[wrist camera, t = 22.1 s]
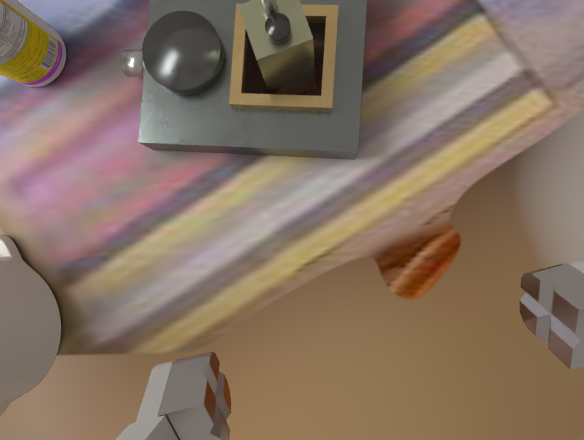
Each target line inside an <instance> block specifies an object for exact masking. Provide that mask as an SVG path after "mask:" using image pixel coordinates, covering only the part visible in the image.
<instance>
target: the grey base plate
mask: <svg viewBox="0 0 584 440" xmlns="http://www.w3.org/2000/svg"><path fill="white" fill-rule="evenodd" d="M248 1H251V0H150V2H149V14H148V27H147V34H146V36H145V39H144V42H143V48H142V50H124V51H123V52H122V55H121V65H122V69H123V71H124V73H125V74H126V75H127V76H128V77H143V90H142V103H141V115H140V128H139V140H138V142H139V143H141V144H143V145H145V146H147V147H149V148H151V149H153V150H167V151H189V152H210V153H231V154H252V155H273V156H295V157H316V158H337V159H355V158H356V156H357V154H358V147H359V130H360V113H361V96H362V79H363V62H364V45H365V28H366V11H367V0H300V3H301V5H302V8H303V11H304V14H305V17H306V19H307V22H308V25H309V28H310V31H311V33H312V36H313V40H325V43H324V59H323V75H322V91H321V96H309V95H279V94H251V86H252V72H253V57H254V51H253V48H252V45H251V42H250V39H249V36H248V33H247V31H246V28H245V25H244V22H243V19H242V16H241V13H240V10H239V7H238V5H241V4H243V3H246V2H248Z"/></svg>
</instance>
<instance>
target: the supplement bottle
mask: <svg viewBox="0 0 584 440" xmlns="http://www.w3.org/2000/svg"><path fill="white" fill-rule="evenodd" d="M65 61H66V48H65V44H64V42H63V40H62V38H61V36H60V35H59V34H58V33H57V31H56V30H54V29H53V28H52V27H51V26H49V25H48V24H47V23H46V22H44V21H43V20H42V19H40V18H39V17H38V16H36V15H35V14H34V13H32V12H31V11H30V10H28V9H27V8H26V7H24V6H23V5H22V4H20V3H19V2H18V1H16V0H0V74H1V75H3V76H5V77H7V78H9V79H11V80H13V81H15V82H18V83H20V84H22V85H25V86H29V87H40V86H44V85H47V84H49V83H50V82H52V81H53V80H55V79H56V78H57V77H58V76H59V74H60V73H61V71H62V70H63V68H64V65H65Z"/></svg>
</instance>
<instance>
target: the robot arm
mask: <svg viewBox="0 0 584 440" xmlns="http://www.w3.org/2000/svg"><path fill="white" fill-rule="evenodd" d="M521 288H522V289H523V290H524V291H525V292H526V293H525V294H524V296H523V297H522V298H521V300H520V314H521V316H522V319H523V322H524V323H525V325H526V326H527V328H528V329H529V330H530V331H531V332H532V333H533V334H534V335H535V336H536V337H539V338H541V339H544V340H546V341H548V344H549V350H550V351H551V352H552V353H553V354H554V355H555V356H556V357H557V358H558V359H560V360H561V361H562V362H563V363H564V364H565V365H566V366H567V367H568V368H569V369H570V370H572V369H576V368H581V367H584V258H581V259H577V260H573V261H570V262H566V263H563V264H560V265H556V266H552V267H548V268H544V269H540V270H536V271H533V272H529V273H525V274H524V275H523V277H522V278H521ZM60 338H61V319H60V313H59V309H58V305H57V302H56V300H55V297H54V295H53V293H52V291H51V289H50V288H49V286H48V285H47V283H46V282H45V281H44V280H43V279H42V277H41V276H40V275H39V274H38V273H36V272H35V271H34V270H33V269H32V268H31V267H29V266H28V265H27V264H26V263H25V262H24V261H23V259H22V257H21V255H20V253H19V251H18V249H17V247H16V245H15V244H14V242H13V241H12V240H11V239H10V238H9V237H8V236H4V235H1V236H0V416H1V414H2V413H3V412H4V411H5V409H6V408H7V406H8V405H9V404H10V403H11V402H12V401H13V400H15V399H16V398H18V397H20V396H22V395H23V394H25V393H27V392H28V391H30V390H31V389H33V388H34V387H35V386H36V385H37V384H38V383H39V382H40V381H41V380H42V379H43V378H44V377H45V375H46V374H47V373H48V371H49V370H50V368H51V366H52V364H53V362H54V360H55V358H56V355H57V352H58V349H59V344H60ZM230 413H231V398H230V390H229V386H228V382H227V379H226V377H225V375H224V374H222V373H221V372H219V361H218V358H217V356H216V354H215V353H214V352H209V353H205V354H201V355H196V356H192V357H187V358H183V359H179V360H175V361H172V362H167V363H162V364H158V365H156V366H155V367H154V368H153V369H152V371H151V374H150V378H149V381H148V384H147V387H146V390H145V393H144V397H143V400H142V403H141V406H140V410H139V413H138V416H137V419H136V422H135V423H133V424H129V425H128V426H127V428H126V429H125V430H124V431H123V432H122V433H121V434H120V435H119V436H118V438H117V439H116V440H229V436H230V429H229V427H228V424H227V422H226V419H227V418H228V416H229V415H230Z"/></svg>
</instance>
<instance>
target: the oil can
mask: <svg viewBox="0 0 584 440" xmlns="http://www.w3.org/2000/svg"><path fill="white" fill-rule="evenodd" d="M238 7H239V10H240V13H241V16H242V19H243V22H244V25H245V28H246V31H247V33H248V36H249V39H250V42H251V45H252V48H253V51H254V54H255V57H256V60H257V62H258V65H259V68H260V70H261V73H262V76H263V78H264V81H265V84H266V86H267V89H268V92H269V94H279V95H297V94H300V93H303V92H305V91H308V90H311V89H314V88H315V66H314V43H313V36H312V33H311V31H310V28H309V25H308V22H307V19H306V17H305V14H304V11H303V8H302V5H301V3H300V0H251V1H248V2H246V3H243V4H241V5H238Z"/></svg>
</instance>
